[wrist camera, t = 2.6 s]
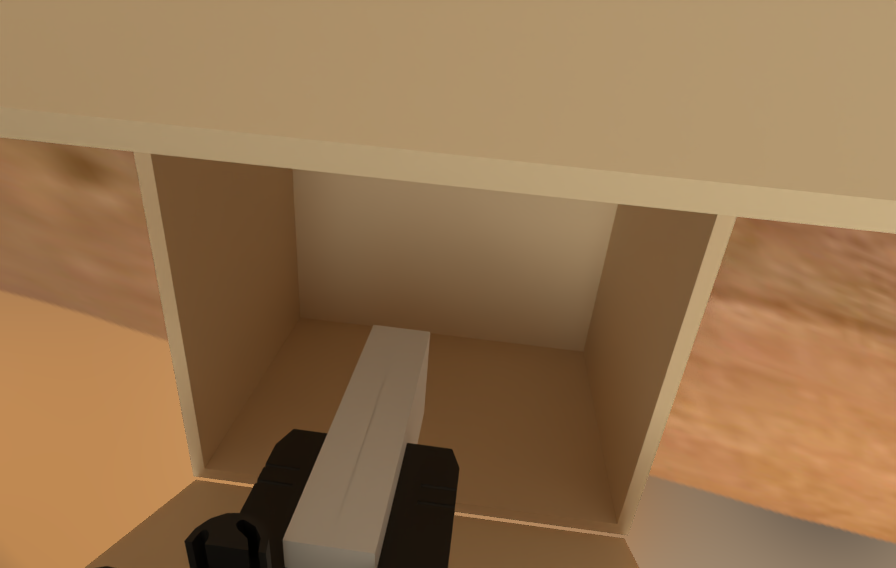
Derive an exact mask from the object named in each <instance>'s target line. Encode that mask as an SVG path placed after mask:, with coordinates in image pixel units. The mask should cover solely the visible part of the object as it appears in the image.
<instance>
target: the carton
mask: <svg viewBox="0 0 896 568" xmlns="http://www.w3.org/2000/svg"><path fill="white" fill-rule="evenodd" d="M133 153H134V158H135V164H136V169H137V174H138V180H139V185H140V190H141V196H142V201H143V207H144V212H145V217H146V223H147V228H148V233H149V239H150V244H151V250H152V255H153V260H154V266H155V271H156V276H157V282H158V287H159V293H160V298H161V303H162V309H163V314H164V320H165V325H166V330H167V336H168V341H169V346H170V351H171V357H172V363H173V368H174V373H175V379H176V384H177V389H178V395H179V400H180V405H181V411H182V416H183V422H184V426H185V432H186V438H187V443H188V449H189V454H190V459H191V465H192V470H193V475H194V476H197V477H204V478H211V479H219V480H226V481H233V482H241V483H248V484H255V483H257V479H258V477H259V475H260V473H261V471H262V469H263V467H265V465H266V462H267V460H268V458H269V456H270V454H271V452H272V450H273V448H274V447H275V445H276V443H278V442H279V441H280V440H281V439H282V438H283V437H285V436H286V435H287V434H288V433H289V432H290V431H292V430H293V429H299V430H307V431H314V432H321V433H328V431H329V429H330V427H331V424H332V422H333V419H334V417H335V415H336V412H337V410H338V408H339V405H340V403H341V401H342V398H343V396H344V393H345V391H346V389H347V386H348V384H349V382H350V379H351V377H352V375H353V372H354V370H355V367H356V365H357V363H358V360H359V358H360V356H361V353H362V351H363V348H364V346H365V344H366V341H367V339H368V337H369V334H370V332H371V330H372V327H373V325H380V326H388V327H396V328H404V329H412V330H420V331H428V332H430V342H429V355H428V368H427V381H426V394H425V407H424V416H423V420H422V425H421V430H420V434H419V439H418V443H417V444H420V445H427V446H435V447H442V448H449V449H452V450H453V452H454V455H455V457H456V460H457V463H458V465H459V468H460V469H459V478H458V486H457V495H456V503H455V512H461V513H468V514H475V515H483V516H490V517H497V518H506V519H513V520H519V521H527V522H534V523H541V524H549V525H556V526H563V527H571V528H578V529H586V530H593V531H600V532H607V533H615V534H622V535H628V534H629V530H630V528H631V525H632V522H633V519H634V516H635V513H636V510H637V507H638V504H639V501H640V498H641V496H642V493H643V490H644V487H645V484H646V481H647V478H648V475H649V472H650V469H651V466H652V463H653V460H654V458H655V455H656V452H657V449H658V446H659V443H660V440H661V437H662V434H663V431H664V428H665V425H666V422H667V419H668V416H669V414H670V411H671V408H672V405H673V402H674V399H675V396H676V393H677V390H678V387H679V384H680V381H681V378H682V375H683V373H684V370H685V367H686V364H687V361H688V358H689V355H690V352H691V349H692V346H693V343H694V340H695V337H696V334H697V331H698V329H699V326H700V323H701V320H702V317H703V314H704V311H705V308H706V305H707V302H708V299H709V296H710V293H711V290H712V288H713V285H714V282H715V279H716V276H717V273H718V270H719V267H720V264H721V261H722V258H723V255H724V252H725V249H726V246H727V244H728V241H729V238H730V235H731V232H732V229H733V226H734V223H735V220H736V216H727V215H718V214H708V213H699V212H690V211H680V210H671V209H662V208H652V207H643V206H634V205H625V204H615V203H606V202H597V201H587V200H578V199H569V198H560V197H550V196H541V195H532V194H522V193H513V192H504V191H494V190H485V189H476V188H466V187H457V186H448V185H439V184H429V183H420V182H411V181H401V180H392V179H383V178H373V177H364V176H355V175H346V174H336V173H327V172H318V171H308V170H299V169H290V168H281V167H271V166H262V165H253V164H243V163H234V162H225V161H215V160H206V159H197V158H188V157H178V156H169V155H160V154H150V153H141V152H133Z"/></svg>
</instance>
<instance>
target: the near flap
mask: <svg viewBox="0 0 896 568" xmlns="http://www.w3.org/2000/svg"><path fill="white" fill-rule="evenodd" d="M0 137H2V138H11V139H20V140H29V141H39V142H48V143H57V144H67V145H76V146H85V147H95V148H104V149H113V150H122V151H132V152H141V153H150V154H160V155H169V156H178V157H188V158H197V159H206V160H215V161H225V162H234V163H243V164H253V165H262V166H271V167H281V168H290V169H299V170H308V171H318V172H327V173H336V174H346V175H355V176H364V177H373V178H383V179H392V180H401V181H411V182H420V183H429V184H439V185H448V186H457V187H466V188H476V189H485V190H494V191H504V192H513V193H522V194H532V195H541V196H550V197H560V198H569V199H578V200H587V201H597V202H606V203H615V204H625V205H634V206H643V207H652V208H662V209H671V210H680V211H690V212H699V213H708V214H718V215H727V216H736V217H746V218H755V219H764V220H773V221H783V222H792V223H801V224H811V225H820V226H829V227H838V228H848V229H857V230H866V231H876V232H885V233H894V234H896V0H0Z"/></svg>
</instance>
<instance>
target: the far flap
mask: <svg viewBox="0 0 896 568" xmlns="http://www.w3.org/2000/svg"><path fill="white" fill-rule="evenodd" d="M251 490H252V488H251V487H243V486H236V485H229V484H220V483H214V482H207V481H199V480H195V481H194V482H193V483H191V484H190V485H189V486H187V487H186V488H185V489H184V490H182V491H181V492H180V493H179V494H178V495H176V496H175V497H174V498H172V499H171V500H170V501H168V502H167V503H166V504H165V505H164V506H162V507H161V508H160V509H158V510H157V511H156V512H155V513H154V514H152V515H151V516H149V517H148V518H147V519H146V520H144V521H143V522H142V523H141V524H139V525H138V526H137V527H136V528H134V529H133V530H132V531H131V532H129V533H128V534H127V535H126V536H124V537H123V538H122V539H120V540H119V541H118V542H117V543H115V544H114V545H113V546H112V547H110V548H109V549H108V550H107V551H105V552H104V553H103V554H102V555H100V556H99V557H98V558H97V559H95V560H94V561H93V562H91V563H90V564H89V565H87V566H86V567H85V568H98V567H104V566H109V567H114V568H190V566H189V561H188V556H187V551H186V547H185V542H184V541H185V540H186V538H187V537H188V536H189V535H190V534H191V533H192V531H193V530H194V529H195V528H196V527H198V526H199V525H201V524H202V523H204V522H205V521H207V520H208V519H210V518H213V517H216V516H219V515H222V514H225V513H240V511H241V509H242V507H243V505H244V503H245V502H246V500H247V498H248V496H249V494H250V492H251ZM448 568H639V567H638V565H637V563H636V561H635V559H634V557H633V555H632V553H631V551H630V549H629V547H628V545H627V543H626V541H625V539H624V538H616V537H609V536H602V535H595V534H587V533H580V532H572V531H565V530H558V529H550V528H543V527H536V526H529V525H521V524H514V523H507V522H500V521H492V520H485V519H477V518H470V517H462V516H455V515H454V520H453V529H452V538H451V546H450V555H449V563H448Z"/></svg>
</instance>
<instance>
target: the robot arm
mask: <svg viewBox="0 0 896 568" xmlns="http://www.w3.org/2000/svg"><path fill="white" fill-rule="evenodd" d="M429 342H430V332H428V331H420V330H412V329H404V328H396V327H388V326H380V325H373V327H372V330H371V332H370V334H369V337H368V339H367V341H366V344H365V346H364V348H363V351H362V353H361V356H360V358H359V360H358V363H357V365H356V367H355V370H354V372H353V375H352V377H351V379H350V382H349V384H348V386H347V389H346V391H345V393H344V396H343V398H342V401H341V403H340V405H339V408H338V410H337V412H336V415H335V417H334V419H333V422H332V424H331V427H330V429H329V431H328V433H321V432H314V431H307V430H299V429H293V430H292V431H290V432H289V433H288V434H287V435H286V436H285V437H283V438H282V439H281V440H280V441H279V442H278V443H276V445H275V447H274V448H273V450H272V452H271V454H270V456H269V458H268V460H267V462H266V465H265V467H263V469H262V471H261V473H260V475H259V477H258V479H257V483H255V484H254V486H253V488H252V490H251V492H250V494H249V496H248V498H247V500H246V502H245V503H244V505H243V507H242V509H241V511H240V513H225V514H222V515H219V516H216V517H213V518H210V519H208V520H207V521H205V522H204V523H202V524H201V525H199V526H198V527H196V528H195V529H194V530H193V531H192V533H191V534H190V535H189V536H188V537H187V538H186V540H185V541H184V542H185V547H186V551H187V556H188V561H189V566H190V568H448V563H449V555H450V546H451V538H452V529H453V520H454V512H455V503H456V495H457V486H458V478H459V469H460V468H459V465H458V463H457V460H456V457H455V455H454V452H453V450H452V449H449V448H442V447H435V446H427V445H420V444H417V443H418V439H419V434H420V430H421V425H422V420H423V416H424V407H425V394H426V381H427V368H428V355H429ZM98 568H114V567H109V566H104V567H98Z"/></svg>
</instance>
